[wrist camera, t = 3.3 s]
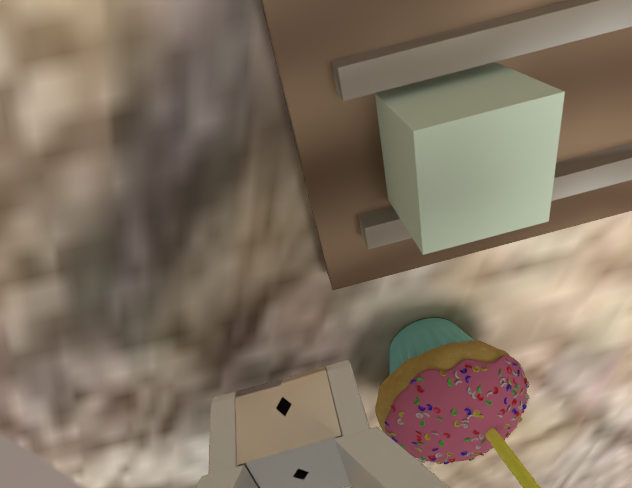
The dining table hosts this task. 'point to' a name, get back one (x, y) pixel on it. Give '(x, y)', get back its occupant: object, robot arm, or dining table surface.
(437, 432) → the cupcake
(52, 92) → the dining table surface
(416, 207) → the block
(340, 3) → the guide board
